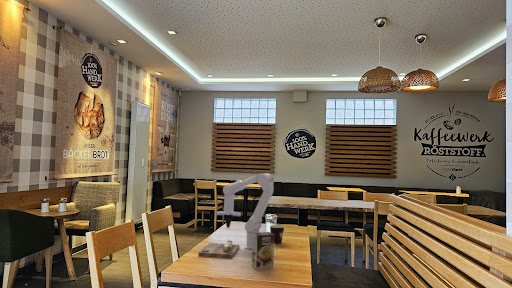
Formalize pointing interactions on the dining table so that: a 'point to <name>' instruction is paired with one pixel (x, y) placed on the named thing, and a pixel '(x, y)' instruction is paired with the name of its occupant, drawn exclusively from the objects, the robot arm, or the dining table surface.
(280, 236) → the coffee mug
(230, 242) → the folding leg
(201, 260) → the dining table surface
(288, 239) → the dining table surface
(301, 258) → the dining table surface
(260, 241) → the coffee box
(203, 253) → the wooden serving board
